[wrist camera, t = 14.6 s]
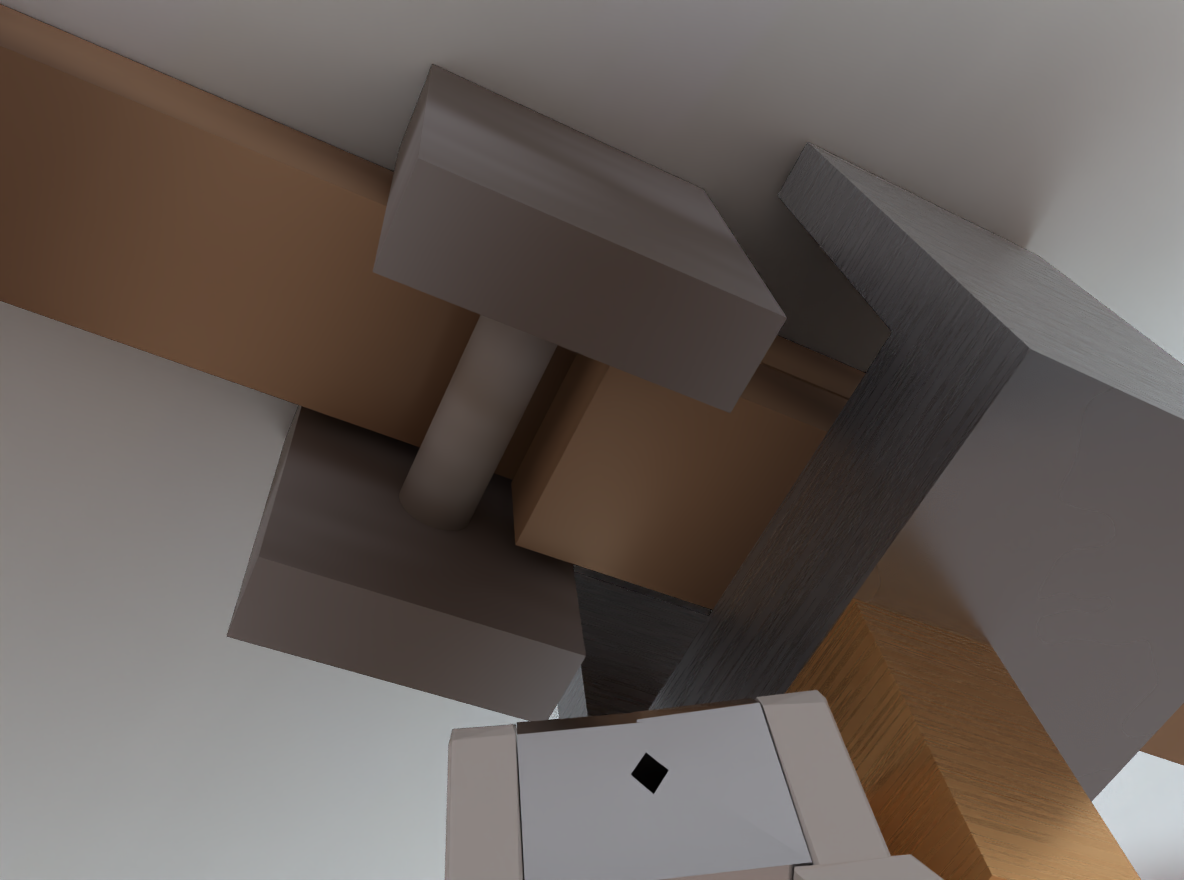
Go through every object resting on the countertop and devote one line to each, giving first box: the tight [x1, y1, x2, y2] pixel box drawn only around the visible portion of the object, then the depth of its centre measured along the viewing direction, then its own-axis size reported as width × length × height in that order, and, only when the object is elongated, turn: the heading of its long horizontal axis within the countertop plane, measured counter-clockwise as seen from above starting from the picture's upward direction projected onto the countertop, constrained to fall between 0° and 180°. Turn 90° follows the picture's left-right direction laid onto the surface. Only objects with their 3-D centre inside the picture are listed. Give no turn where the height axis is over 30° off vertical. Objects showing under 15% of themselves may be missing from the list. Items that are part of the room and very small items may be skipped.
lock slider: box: [558, 142, 1184, 880], centre depth 13 cm, size 4×8×10 cm, turn 154°
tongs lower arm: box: [0, 4, 866, 721], centre depth 15 cm, size 33×6×4 cm, turn 64°
